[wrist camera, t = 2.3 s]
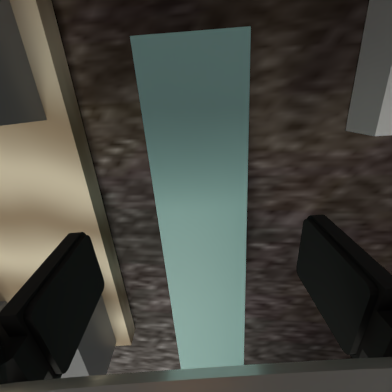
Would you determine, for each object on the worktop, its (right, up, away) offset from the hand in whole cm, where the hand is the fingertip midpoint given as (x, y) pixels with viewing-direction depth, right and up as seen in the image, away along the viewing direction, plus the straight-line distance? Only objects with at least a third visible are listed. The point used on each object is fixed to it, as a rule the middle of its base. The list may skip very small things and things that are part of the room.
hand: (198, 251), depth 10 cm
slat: (0, +2, +6) cm, 7 cm away
